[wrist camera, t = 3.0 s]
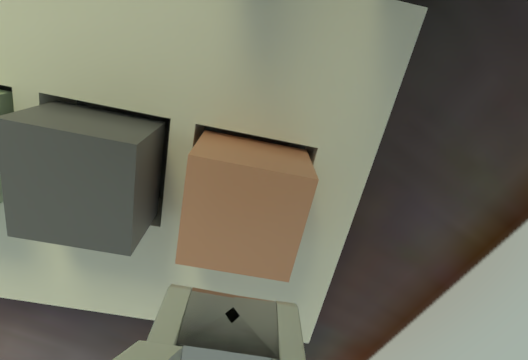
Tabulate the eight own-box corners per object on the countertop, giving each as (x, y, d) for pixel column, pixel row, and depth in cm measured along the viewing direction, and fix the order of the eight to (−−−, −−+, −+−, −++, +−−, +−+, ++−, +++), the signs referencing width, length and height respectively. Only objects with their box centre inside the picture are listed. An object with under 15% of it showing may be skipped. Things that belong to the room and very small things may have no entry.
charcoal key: (56, 100, 12) (-7, 117, 9) (165, 121, 12) (136, 144, 9) (60, 196, 13) (7, 236, 11) (157, 213, 14) (130, 256, 11)
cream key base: (-125, -106, 12) (-270, -161, 9) (388, 16, 14) (427, 7, 10) (-56, 235, 18) (-127, 278, 14) (301, 293, 19) (308, 343, 16)
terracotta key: (204, 129, 12) (188, 154, 10) (306, 150, 13) (319, 179, 10) (192, 219, 14) (174, 263, 11) (283, 235, 14) (289, 282, 11)
